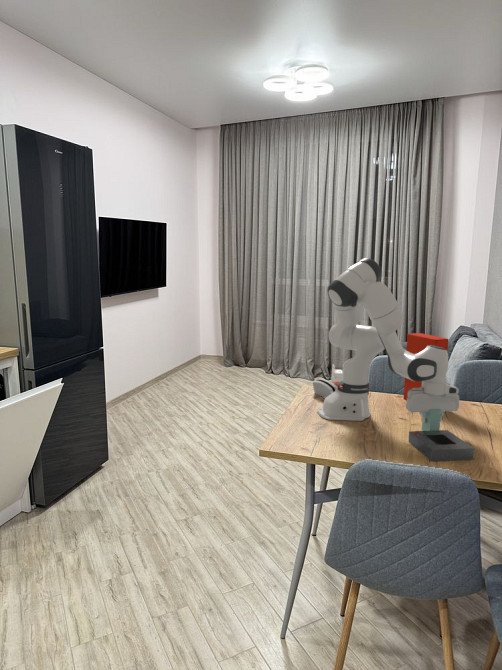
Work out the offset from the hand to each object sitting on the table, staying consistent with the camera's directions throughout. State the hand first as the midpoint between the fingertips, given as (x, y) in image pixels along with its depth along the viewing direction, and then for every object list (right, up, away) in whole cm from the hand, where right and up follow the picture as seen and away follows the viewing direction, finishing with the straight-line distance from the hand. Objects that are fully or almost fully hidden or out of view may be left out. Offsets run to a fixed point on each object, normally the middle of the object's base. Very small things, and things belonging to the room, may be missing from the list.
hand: (431, 422), depth 181 cm
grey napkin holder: (-33, +3, +46) cm, 57 cm away
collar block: (-3, -7, -16) cm, 17 cm away
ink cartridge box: (-27, +4, +52) cm, 59 cm away
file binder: (+11, +1, +39) cm, 40 cm away
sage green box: (0, -4, +1) cm, 4 cm away
